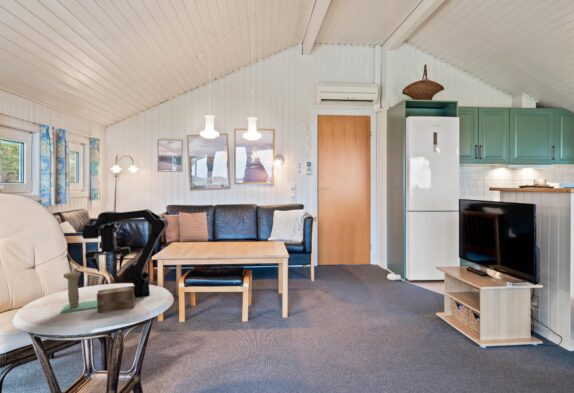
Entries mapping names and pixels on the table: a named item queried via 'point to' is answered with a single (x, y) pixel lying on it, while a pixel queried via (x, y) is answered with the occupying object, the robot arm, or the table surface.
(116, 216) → the robot arm
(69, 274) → the handle
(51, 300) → the table surface
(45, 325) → the table surface
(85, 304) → the mat
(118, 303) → the cabinet
